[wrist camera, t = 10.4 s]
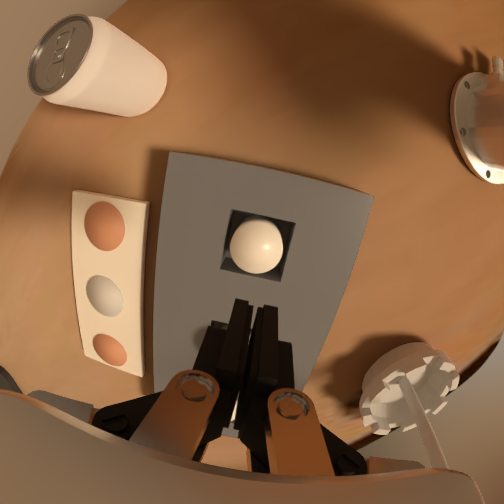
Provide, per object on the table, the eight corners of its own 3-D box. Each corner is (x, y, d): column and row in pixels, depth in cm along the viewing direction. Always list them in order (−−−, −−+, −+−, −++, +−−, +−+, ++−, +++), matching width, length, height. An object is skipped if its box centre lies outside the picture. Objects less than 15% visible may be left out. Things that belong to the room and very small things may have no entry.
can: (105, 118, 22) (15, 109, 11) (116, 59, 20) (38, 23, 9) (162, 117, 22) (83, 95, 11) (175, 54, 20) (111, -3, 8)
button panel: (183, 152, 23) (169, 151, 20) (360, 191, 23) (374, 196, 20) (163, 400, 33) (155, 418, 30) (275, 424, 34) (274, 443, 30)
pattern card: (78, 189, 24) (71, 191, 23) (150, 202, 25) (145, 204, 23) (88, 351, 32) (84, 356, 31) (145, 372, 32) (142, 378, 31)
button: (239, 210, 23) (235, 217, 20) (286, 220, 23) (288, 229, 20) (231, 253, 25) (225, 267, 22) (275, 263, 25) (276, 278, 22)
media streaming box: (37, 412, 43) (32, 419, 40) (9, 397, 45) (4, 404, 42) (8, 368, 39) (1, 375, 36) (-17, 356, 40) (-23, 362, 37)
